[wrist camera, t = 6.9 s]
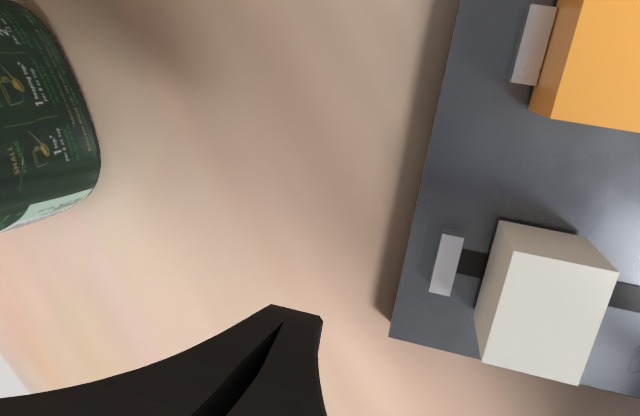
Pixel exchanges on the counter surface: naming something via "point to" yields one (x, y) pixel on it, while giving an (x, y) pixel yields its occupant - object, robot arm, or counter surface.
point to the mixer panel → (516, 190)
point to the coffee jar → (40, 125)
